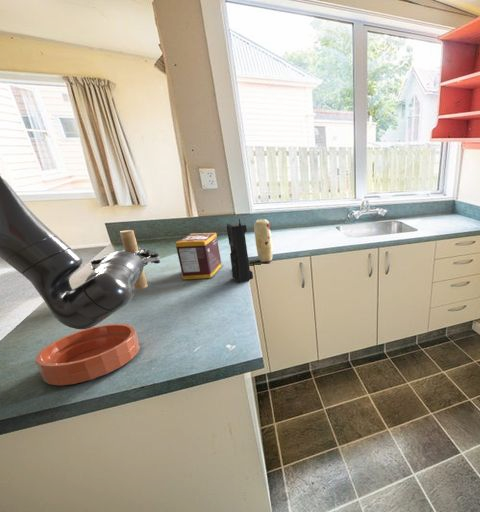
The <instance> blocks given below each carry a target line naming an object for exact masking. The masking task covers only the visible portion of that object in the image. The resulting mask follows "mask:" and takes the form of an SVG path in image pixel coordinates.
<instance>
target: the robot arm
mask: <svg viewBox="0 0 480 512" xmlns="http://www.w3.org/2000/svg"><path fill="white" fill-rule="evenodd" d="M0 259H2V260H3V261H5V262H6V263H7V264H8V265H9V266H11V267H12V268H13V269H14V270H15V271H17V272H18V273H19V274H21V275H22V276H23V277H24V278H25V279H27V280H28V281H29V282H30V283H31V285H32V286H33V287H34V289H35V290H36V292H37V293H38V294H39V295H40V297H41V299H42V300H43V301H44V303H45V305H46V306H47V307H48V309H49V311H50V312H51V314H52V315H53V316H54V318H55V319H56V320H57V321H58V322H59V323H60V324H62V325H63V326H66V327H68V328H71V329H75V330H85V329H88V328H92V327H96V326H97V325H98V324H100V323H101V322H103V321H104V320H106V319H107V318H109V317H110V316H112V315H113V314H115V313H116V312H118V311H119V310H121V309H122V308H124V307H125V306H127V305H128V304H129V303H130V302H131V301H132V299H133V298H134V294H135V293H134V291H133V289H132V287H134V284H135V282H136V281H137V279H138V278H139V276H140V275H141V273H142V271H143V269H144V267H145V266H147V265H148V264H149V263H151V264H155V265H156V264H160V263H161V259H160V255H159V253H158V252H156V251H154V250H152V249H146V248H145V247H139V248H138V251H135V252H133V253H131V252H126V251H125V250H124V249H123V250H119V251H115V252H111V253H109V254H106V255H103V256H100V257H97V258H95V259H92V260H90V263H91V265H92V268H93V270H92V271H91V272H90V273H89V275H88V276H87V277H86V279H85V281H84V282H83V283H81V284H80V285H78V286H76V287H75V288H72V286H71V283H70V278H71V277H72V276H73V274H74V273H76V272H77V271H78V270H79V269H80V267H81V266H82V265H83V263H84V261H83V259H82V257H81V256H80V255H79V253H77V252H76V251H75V250H74V249H72V248H71V247H70V246H69V245H68V244H67V243H66V242H65V241H64V240H62V239H61V238H60V237H59V236H58V235H57V234H56V233H54V231H52V230H51V229H50V228H49V227H48V226H47V225H45V223H43V222H42V220H40V218H38V217H37V216H36V214H34V213H33V211H31V209H30V208H29V207H28V206H27V205H26V204H25V202H24V201H23V200H22V199H21V198H20V196H19V195H18V194H17V192H16V191H15V190H14V189H13V187H12V186H11V185H10V184H9V183H8V181H7V180H6V179H5V178H4V177H3V175H2V174H1V173H0Z"/></svg>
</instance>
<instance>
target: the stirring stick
mask: <svg viewBox="0 0 480 512" xmlns="http://www.w3.org/2000/svg"><path fill="white" fill-rule="evenodd" d="M119 235H120V238H121V242H122V246H123V250H125V251H126V252H131V253H133V252H135V251H138V250H139V247H138V242H137V239H136V238H137V237H136V235H135V231H134V230H133V229H125V230H120V231H119ZM147 287H148V281H147V278H146V273H145V269H144V268H143V271H142V273H141V275H140V276H139V278H138V279H137V281H136V282H135V284H134V285H133V288H134V289H135V290H142V289H146V288H147Z"/></svg>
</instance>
